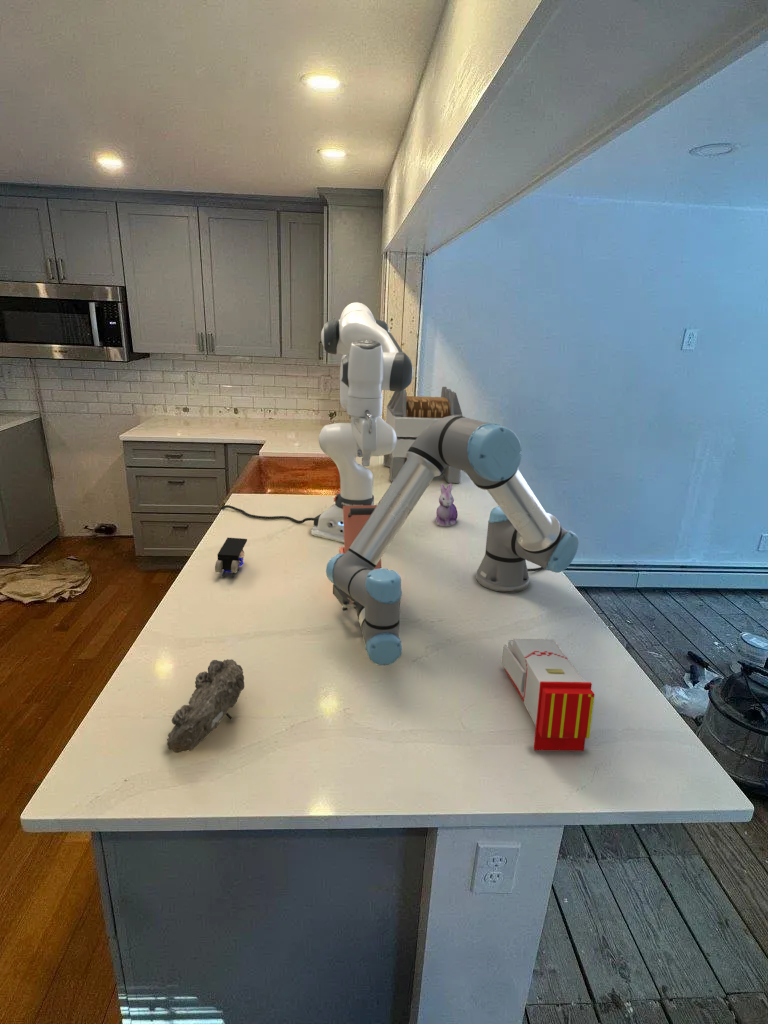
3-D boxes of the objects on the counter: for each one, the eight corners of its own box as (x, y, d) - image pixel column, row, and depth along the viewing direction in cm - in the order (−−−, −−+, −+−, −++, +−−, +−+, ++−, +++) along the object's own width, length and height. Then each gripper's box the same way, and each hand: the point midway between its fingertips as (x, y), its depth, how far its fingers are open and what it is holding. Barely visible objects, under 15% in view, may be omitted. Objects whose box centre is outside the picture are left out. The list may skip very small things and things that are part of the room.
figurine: (442, 528, 206) (446, 489, 201) (428, 519, 214) (431, 481, 209) (464, 525, 210) (468, 486, 205) (449, 516, 218) (452, 479, 213)
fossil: (192, 660, 117) (244, 628, 112) (224, 691, 120) (276, 661, 115) (142, 746, 98) (202, 712, 93) (182, 779, 101) (242, 748, 96)
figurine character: (238, 584, 162) (249, 557, 175) (236, 562, 158) (247, 536, 172) (215, 584, 161) (227, 556, 175) (212, 561, 158) (225, 535, 171)
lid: (342, 506, 152) (346, 500, 144) (378, 505, 154) (383, 499, 146) (345, 569, 150) (348, 567, 141) (380, 568, 151) (386, 565, 143)
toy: (549, 621, 128) (604, 690, 99) (544, 676, 131) (595, 758, 101) (496, 620, 128) (535, 688, 98) (492, 675, 130) (528, 757, 101)
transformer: (382, 463, 289) (386, 382, 275) (445, 464, 293) (451, 384, 279) (390, 482, 257) (394, 392, 243) (460, 483, 261) (468, 394, 247)
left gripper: (384, 415, 133) (381, 471, 138) (371, 401, 152) (369, 451, 157) (357, 414, 132) (356, 472, 137) (347, 400, 151) (346, 451, 156)
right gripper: (326, 632, 133) (320, 588, 153) (419, 627, 136) (400, 585, 157) (327, 604, 130) (320, 563, 151) (421, 600, 134) (402, 560, 155)
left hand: (363, 460), depth 147 cm, fingers open, 8 cm apart
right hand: (361, 574), depth 154 cm, fingers closed on chest, 10 cm apart
